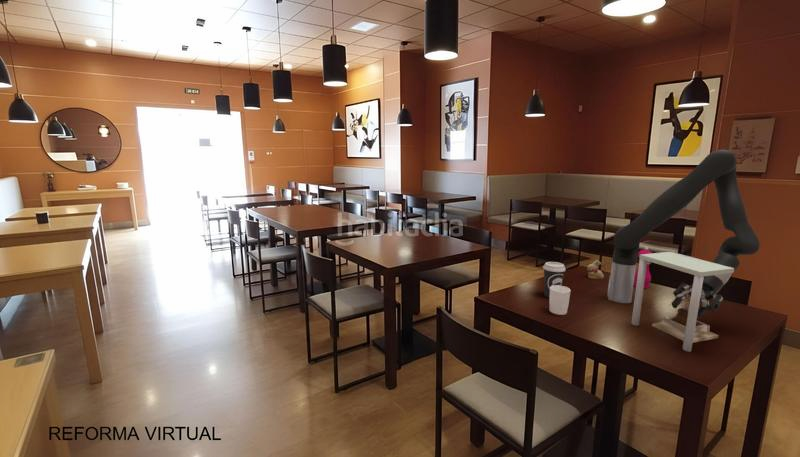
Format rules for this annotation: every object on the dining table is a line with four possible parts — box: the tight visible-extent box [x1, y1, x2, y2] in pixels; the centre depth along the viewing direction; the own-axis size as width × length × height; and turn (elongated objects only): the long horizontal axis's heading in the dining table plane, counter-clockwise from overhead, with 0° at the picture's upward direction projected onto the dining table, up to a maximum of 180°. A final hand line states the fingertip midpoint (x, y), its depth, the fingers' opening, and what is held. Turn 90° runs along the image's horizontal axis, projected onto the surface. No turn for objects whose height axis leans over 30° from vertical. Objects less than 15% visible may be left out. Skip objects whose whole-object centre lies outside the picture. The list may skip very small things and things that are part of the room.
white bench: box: [631, 251, 735, 353], centre depth 136 cm, size 15×22×28 cm
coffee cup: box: [542, 261, 567, 298], centre depth 174 cm, size 10×10×15 cm
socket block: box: [651, 315, 719, 343], centre depth 140 cm, size 14×14×4 cm
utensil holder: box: [675, 295, 690, 326], centre depth 139 cm, size 6×6×12 cm
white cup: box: [548, 285, 572, 316], centre depth 157 cm, size 8×8×10 cm
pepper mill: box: [633, 246, 653, 289], centre depth 186 cm, size 7×7×20 cm
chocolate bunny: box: [586, 259, 605, 280], centre depth 200 cm, size 6×8×10 cm
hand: (684, 311), depth 138 cm, fingers open, 8 cm apart
